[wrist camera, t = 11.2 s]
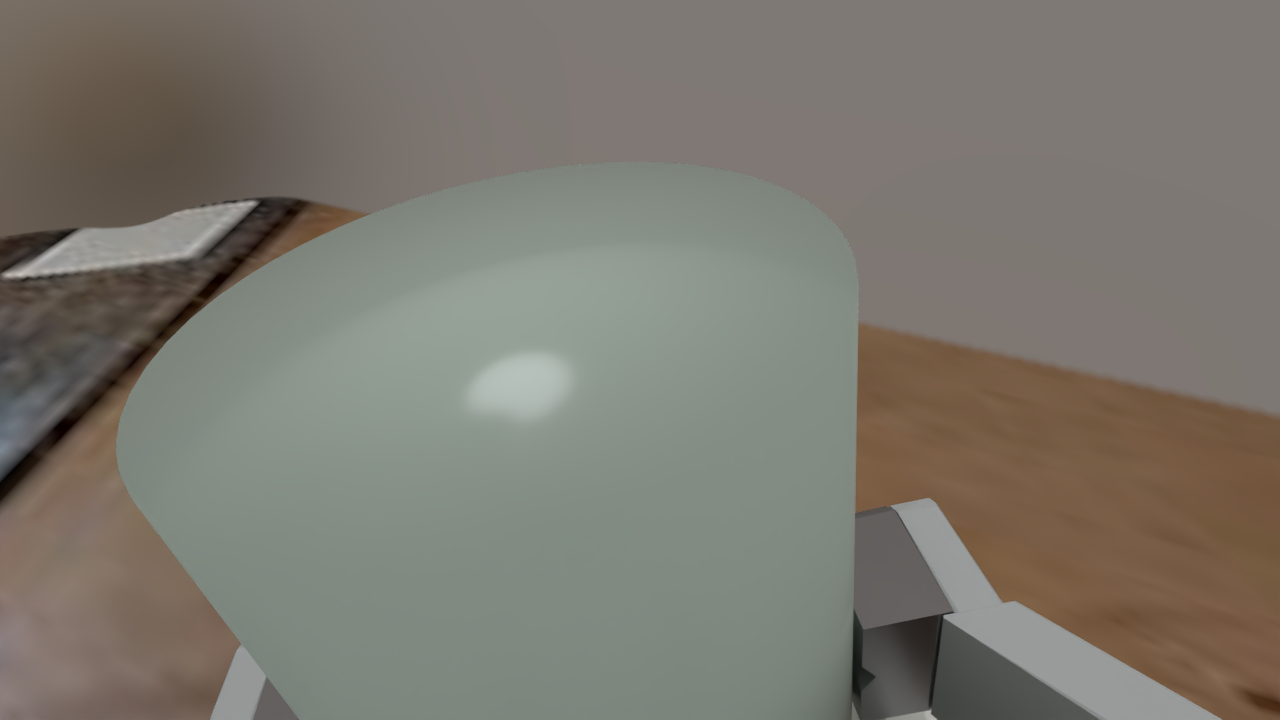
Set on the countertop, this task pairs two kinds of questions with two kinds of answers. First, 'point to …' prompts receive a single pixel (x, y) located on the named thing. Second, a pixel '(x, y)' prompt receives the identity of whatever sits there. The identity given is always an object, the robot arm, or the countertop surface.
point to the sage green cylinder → (527, 454)
